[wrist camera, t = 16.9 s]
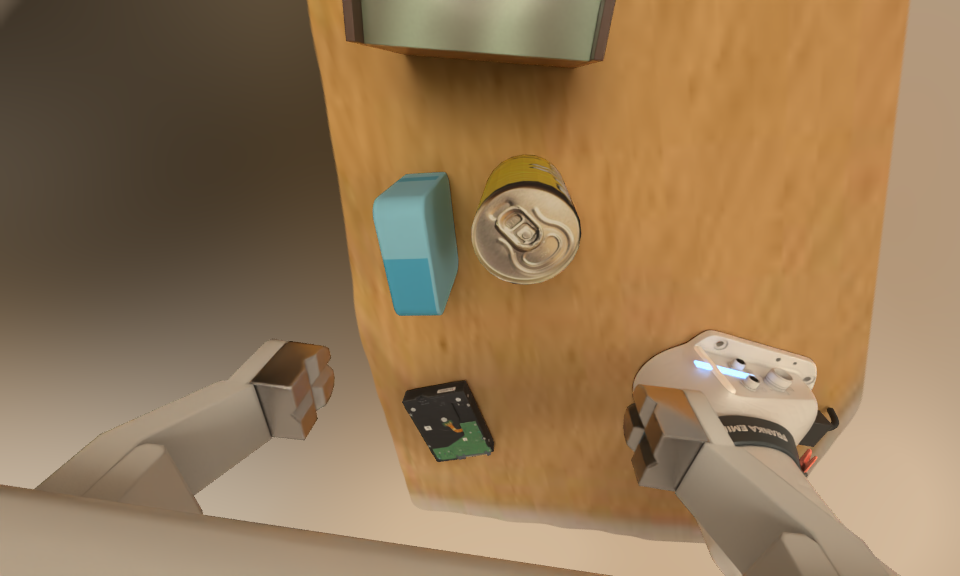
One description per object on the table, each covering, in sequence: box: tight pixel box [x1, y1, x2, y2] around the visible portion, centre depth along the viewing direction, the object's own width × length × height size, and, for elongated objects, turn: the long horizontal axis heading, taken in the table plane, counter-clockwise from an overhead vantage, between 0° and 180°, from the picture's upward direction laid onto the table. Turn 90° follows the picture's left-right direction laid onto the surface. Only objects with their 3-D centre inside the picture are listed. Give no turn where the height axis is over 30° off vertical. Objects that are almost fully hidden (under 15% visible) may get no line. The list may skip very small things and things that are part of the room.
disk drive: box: [402, 380, 494, 462], centre depth 58 cm, size 10×3×15 cm
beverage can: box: [472, 155, 581, 285], centre depth 35 cm, size 9×9×12 cm
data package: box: [373, 172, 458, 316], centre depth 38 cm, size 12×4×12 cm, turn 4°
